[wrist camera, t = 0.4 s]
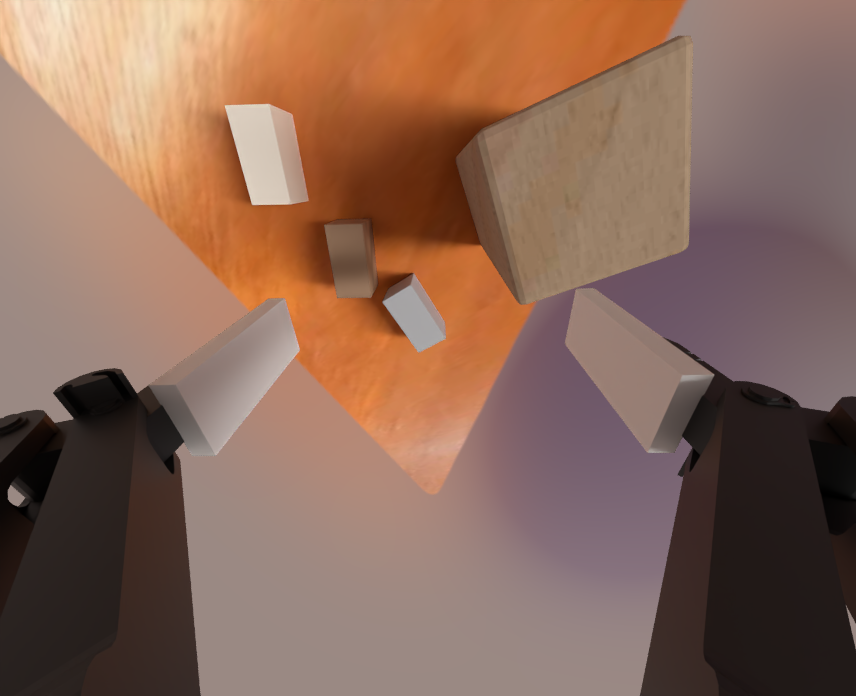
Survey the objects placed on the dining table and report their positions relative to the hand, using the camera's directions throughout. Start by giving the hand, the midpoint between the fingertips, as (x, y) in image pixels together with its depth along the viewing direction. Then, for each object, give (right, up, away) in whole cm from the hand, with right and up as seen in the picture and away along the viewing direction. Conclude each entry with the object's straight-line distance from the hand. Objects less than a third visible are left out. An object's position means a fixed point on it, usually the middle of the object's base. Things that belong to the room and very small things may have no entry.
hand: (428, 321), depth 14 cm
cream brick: (-16, +19, +19) cm, 31 cm away
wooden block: (+9, +17, +20) cm, 27 cm away
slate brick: (-1, +4, +27) cm, 27 cm away
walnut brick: (-9, +11, +24) cm, 27 cm away
